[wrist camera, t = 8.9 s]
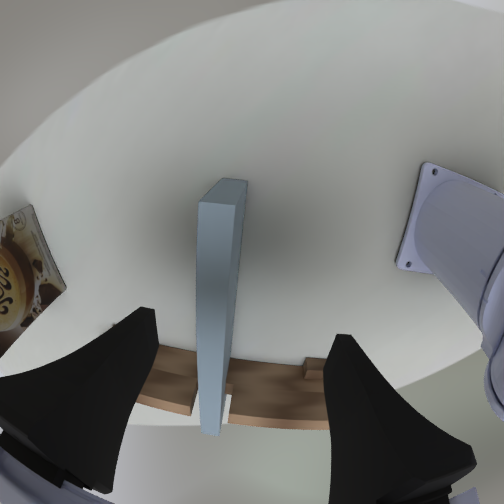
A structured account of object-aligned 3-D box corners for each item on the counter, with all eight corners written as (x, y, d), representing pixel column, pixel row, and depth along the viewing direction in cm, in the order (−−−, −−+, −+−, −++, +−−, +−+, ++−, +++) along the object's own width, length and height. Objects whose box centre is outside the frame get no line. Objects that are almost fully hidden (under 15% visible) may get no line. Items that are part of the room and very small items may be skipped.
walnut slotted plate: (342, 359, 23) (354, 412, 17) (329, 385, 25) (336, 435, 19) (109, 323, 23) (80, 366, 18) (117, 351, 25) (93, 393, 19)
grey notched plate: (222, 177, 17) (198, 201, 12) (247, 180, 17) (235, 205, 12) (212, 384, 25) (201, 433, 20) (227, 386, 25) (219, 436, 20)
